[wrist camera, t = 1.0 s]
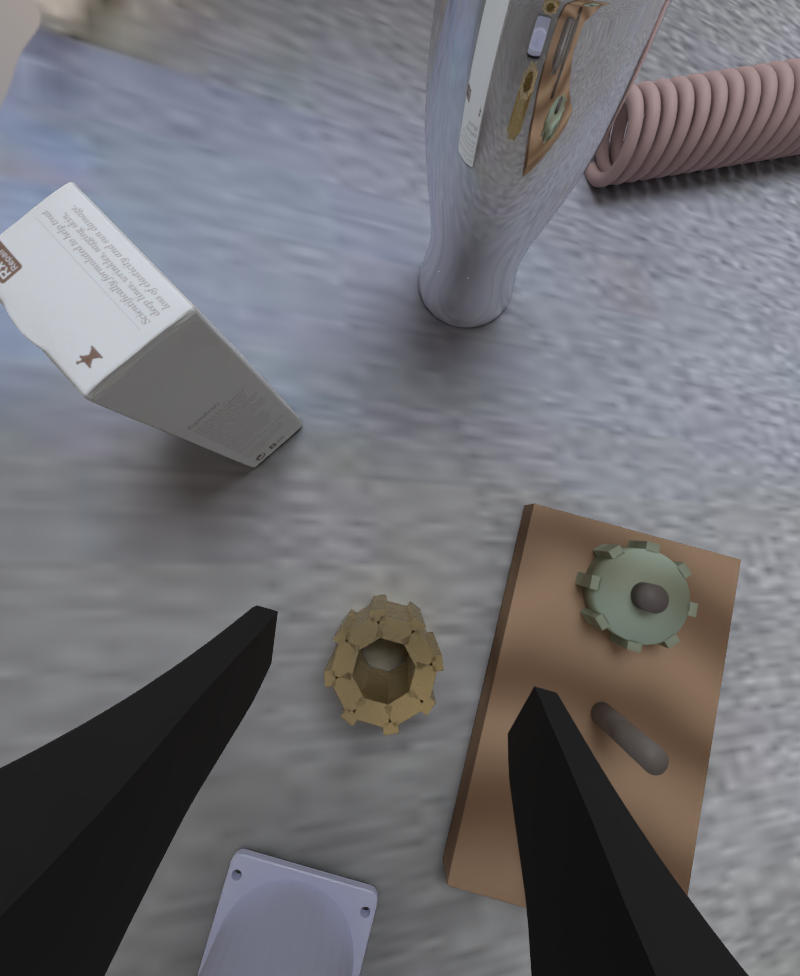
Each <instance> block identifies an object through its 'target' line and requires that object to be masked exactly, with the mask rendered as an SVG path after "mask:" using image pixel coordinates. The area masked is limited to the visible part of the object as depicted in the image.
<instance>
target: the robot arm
mask: <svg viewBox="0 0 800 976" xmlns="http://www.w3.org/2000/svg"><path fill="white" fill-rule="evenodd" d="M277 614H278V611H274V610H271V609H267V608H264V607H260V606H255V607H252V608H251V609H250V610H249V611H248V612H246V613H245V614H244V615H243V616H241V617H240V618H239V619H238V620H236V621H235V622H234V623H233V624H231V625H230V626H229V627H228V628H226V629H225V630H224V631H222V632H221V633H220V634H218V635H217V636H216V637H215V638H213V639H212V640H211V641H209V642H208V643H207V644H205V645H204V646H202V647H201V648H200V649H198V650H197V651H196V652H194V653H193V654H191V655H190V656H189V657H187V658H186V659H185V660H183V661H182V662H180V663H179V664H178V665H176V666H175V667H173V668H172V669H170V670H169V671H167V672H166V673H164V674H163V675H161V676H160V677H158V678H157V679H155V680H154V681H152V682H151V683H149V684H148V685H146V686H145V687H143V688H142V689H140V690H139V691H137V692H135V693H134V694H132V695H131V696H129V697H128V698H126V699H124V700H123V701H121V702H119V703H118V704H116V705H115V706H113V707H111V708H110V709H108V710H106V711H105V712H103V713H101V714H99V715H98V716H96V717H94V718H93V719H91V720H89V721H87V722H86V723H84V724H82V725H80V726H79V727H77V728H75V729H73V730H71V731H70V732H68V733H66V734H64V735H62V736H60V737H59V738H57V739H55V740H53V741H51V742H49V743H48V744H46V745H44V746H42V747H40V748H38V749H37V750H35V751H33V752H31V753H29V754H27V755H25V756H23V757H21V758H19V759H17V760H15V761H13V762H11V763H10V764H8V765H6V766H3V767H1V768H0V976H105V973H106V971H107V969H108V967H109V965H110V963H111V961H112V959H113V957H114V955H115V953H116V951H117V949H118V947H119V945H120V943H121V941H122V939H123V936H124V934H125V932H126V930H127V928H128V926H129V924H130V922H131V920H132V918H133V916H134V914H135V912H136V910H137V908H138V906H139V904H140V902H141V900H142V898H143V896H144V894H145V892H146V890H147V888H148V886H149V884H150V882H151V880H152V878H153V876H154V874H155V872H156V870H157V868H158V866H159V864H160V862H161V861H162V859H163V857H164V855H165V853H166V851H167V849H168V847H169V845H170V843H171V841H172V839H173V837H174V835H175V833H176V831H177V829H178V828H179V826H180V824H181V822H182V820H183V818H184V816H185V814H186V812H187V811H188V809H189V807H190V805H191V804H192V802H193V800H194V798H195V796H196V795H197V793H198V791H199V790H200V788H201V786H202V785H203V783H204V781H205V780H206V778H207V777H208V775H209V773H210V772H211V770H212V768H213V767H214V765H215V763H216V762H217V760H218V758H219V757H220V755H221V754H222V752H223V750H224V749H225V747H226V745H227V744H228V742H229V740H230V739H231V737H232V736H233V734H234V732H235V731H236V729H237V727H238V726H239V724H240V722H241V721H242V719H243V717H244V716H245V714H246V712H247V711H248V709H249V707H250V706H251V704H252V702H253V700H254V698H255V696H256V694H257V692H258V690H259V688H260V686H261V684H262V682H263V680H264V678H265V676H266V674H267V671H268V669H269V667H270V665H271V661H272V653H273V645H274V637H275V629H276V621H277ZM508 766H509V782H510V790H511V797H512V805H513V812H514V820H515V827H516V834H517V841H518V848H519V855H520V862H521V870H522V877H523V884H524V891H525V899H526V908H527V917H528V928H529V943H530V958H531V973H532V976H748V975H747V973H746V972H745V971H744V970H743V968H742V967H741V966H740V965H739V963H738V962H737V961H736V960H735V958H734V957H733V956H732V954H731V953H730V952H729V951H728V949H727V948H726V947H725V945H724V944H723V943H722V942H721V940H720V939H719V938H718V936H717V935H716V934H715V932H714V931H713V930H712V929H711V927H710V926H709V925H708V923H707V922H706V921H705V919H704V918H703V916H702V915H701V914H700V912H699V911H698V910H697V908H696V907H695V906H694V904H693V903H692V902H691V900H690V899H689V897H688V896H687V895H686V893H685V892H684V891H683V889H682V888H681V887H680V885H679V884H678V882H677V881H676V880H675V878H674V877H673V876H672V874H671V873H670V871H669V870H668V868H667V867H666V866H665V864H664V863H663V861H662V860H661V859H660V857H659V856H658V854H657V853H656V851H655V850H654V848H653V847H652V845H651V844H650V842H649V841H648V839H647V838H646V836H645V835H644V833H643V832H642V830H641V829H640V827H639V826H638V824H637V823H636V821H635V820H634V818H633V817H632V815H631V814H630V812H629V811H628V809H627V808H626V806H625V805H624V803H623V801H622V800H621V798H620V797H619V795H618V794H617V792H616V790H615V789H614V787H613V786H612V784H611V782H610V781H609V779H608V778H607V776H606V774H605V773H604V771H603V769H602V768H601V766H600V764H599V763H598V761H597V760H596V758H595V756H594V755H593V753H592V751H591V750H590V748H589V746H588V744H587V743H586V741H585V739H584V738H583V736H582V734H581V733H580V731H579V729H578V728H577V726H576V724H575V722H574V721H573V719H572V717H571V716H570V714H569V712H568V711H567V709H566V707H565V705H564V704H563V702H562V700H561V699H560V697H559V695H558V694H557V693H556V692H553V691H549V690H546V689H543V688H539V687H536V686H534V688H533V689H532V691H531V693H530V695H529V697H528V698H527V700H526V702H525V704H524V705H523V707H522V709H521V711H520V713H519V714H518V716H517V718H516V720H515V721H514V723H513V725H512V727H511V729H510V730H509V732H508ZM235 870H240V871H241V874H238V873H236V871H235ZM377 899H378V893H377V890H376V888H375V887H374V886H372V885H369V884H366V883H362V882H359V881H355V880H352V879H348V878H345V877H341V876H338V875H334V874H331V873H327V872H324V871H320V870H317V869H313V868H310V867H306V866H303V865H299V864H296V863H292V862H289V861H285V860H282V859H278V858H275V857H271V856H268V855H264V854H261V853H258V852H254V851H251V850H247V849H239V850H237V851H236V852H235V854H234V856H233V858H232V860H231V862H230V866H229V869H228V873H227V876H226V879H225V883H224V886H223V890H222V893H221V897H220V900H219V903H218V907H217V910H216V914H215V917H214V920H213V924H212V927H211V931H210V934H209V938H208V941H207V944H206V948H205V951H204V955H203V958H202V961H201V965H200V968H199V972H198V975H197V976H359V975H360V971H361V967H362V963H363V959H364V955H365V951H366V947H367V943H368V939H369V935H370V931H371V927H372V922H373V918H374V914H375V910H376V906H377ZM363 907H368V908H369V909H368V910H364V909H362V908H363Z"/></svg>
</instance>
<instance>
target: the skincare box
mask: <svg viewBox="0 0 800 976" xmlns="http://www.w3.org/2000/svg"><path fill="white" fill-rule="evenodd" d="M0 302H1V303H2V304H3V305H4V307H5V308H6V311H7V312H8V314H9V316H10V318H11V319H12V321H13V322H14V324H15V325H16V326H17V328H18V329H19V330H20V331H21V332H22V334H23V335H24V336H25V337H26V338H27V339H28V340H30V341H31V342H32V343H33V344H35V345H36V346H37V347H39V348H41V349H42V350H43V352H44V353H45V354H46V355H47V356H48V357H49V358H50V359H51V361H52V362H53V363H54V364H55V365H56V366H57V367H58V368H59V370H60V371H61V372H62V373H63V374H64V375H65V376H66V377H67V378H68V380H69V381H70V382H71V383H72V384H73V385H74V386H75V387H76V388H77V390H78V391H79V392H80V393H81V394H82V395H83V396H84V397H85V398H86V399H87V400H89V401H92V402H94V403H96V404H98V405H101V406H103V407H105V408H108V409H110V410H113V411H115V412H117V413H120V414H122V415H125V416H127V417H130V418H132V419H135V420H137V421H139V422H142V423H144V424H147V425H149V426H152V427H154V428H157V429H160V430H162V431H164V432H167V433H169V434H172V435H174V436H177V437H179V438H182V439H184V440H187V441H189V442H191V443H194V444H196V445H199V446H201V447H203V448H206V449H208V450H210V451H213V452H215V453H218V454H220V455H223V456H225V457H227V458H230V459H232V460H235V461H237V462H240V463H242V464H245V465H247V466H249V467H253V468H254V467H256V466H257V465H259V464H260V463H261V462H262V461H263V460H264V459H265V458H266V457H268V456H269V455H270V454H271V453H272V452H274V451H275V450H276V449H277V448H278V447H279V446H280V445H281V444H283V443H284V442H285V441H286V440H287V439H288V438H290V437H291V436H292V435H293V434H294V433H295V432H296V431H297V430H298V429H300V428H301V426H302V421H301V420H300V418H299V417H298V416H297V415H296V414H295V412H294V411H293V410H292V409H291V408H290V406H289V405H288V404H287V403H286V402H285V401H284V399H283V398H282V397H281V396H280V395H279V394H278V393H277V392H276V391H275V389H274V388H273V387H272V386H271V385H270V384H269V383H268V382H267V381H266V380H265V379H264V378H263V376H262V375H261V374H260V373H259V372H258V371H257V370H256V369H255V368H254V367H253V366H252V365H251V364H250V363H249V362H248V361H247V360H246V358H245V357H244V356H243V355H242V354H241V353H240V352H239V351H238V350H237V349H236V348H235V347H234V346H233V345H232V344H231V343H230V342H229V341H228V340H227V339H226V338H225V337H224V335H223V334H222V333H221V332H220V331H219V330H218V329H217V328H216V327H215V326H214V325H213V324H212V323H211V322H210V321H209V320H208V319H207V318H206V317H205V316H204V315H203V314H202V313H201V312H200V311H199V310H198V309H197V308H196V307H195V306H194V305H193V304H192V303H191V302H190V301H189V300H188V299H187V298H186V297H185V296H184V295H183V294H182V293H181V292H180V290H179V289H178V288H177V287H176V286H175V285H174V284H173V283H172V282H171V281H170V280H169V279H168V278H167V277H166V276H165V275H164V274H163V273H162V272H161V271H160V270H159V269H158V268H157V267H156V266H155V265H154V264H153V263H152V262H151V261H150V260H149V259H148V258H147V257H146V256H145V255H144V254H143V253H142V252H141V251H140V250H139V249H138V248H137V247H136V246H135V245H134V244H133V243H132V242H131V240H130V239H129V238H128V237H127V236H126V235H125V234H124V233H123V232H122V231H121V230H120V229H119V228H118V227H117V226H116V225H115V224H114V223H113V222H112V221H111V220H110V219H109V218H108V217H107V216H106V215H105V214H104V213H103V212H102V211H101V210H100V209H99V208H98V207H97V206H96V205H95V204H94V203H93V202H92V201H91V200H90V199H89V198H88V197H87V196H86V195H85V194H84V193H83V192H82V191H81V190H80V189H79V188H78V186H77V185H76V184H74V183H73V182H69V183H67V184H66V185H64V186H63V187H61V188H59V189H58V190H57V191H55V192H54V193H52V194H51V195H50V196H48V197H47V198H46V199H44V200H43V201H42V202H41V203H39V204H38V205H37V206H35V207H34V208H33V209H32V210H31V211H29V212H28V213H27V214H26V215H25V216H23V217H22V218H21V219H20V220H18V221H17V222H16V223H15V224H13V225H12V226H11V227H9V228H8V229H7V230H6V231H4V232H3V233H2V234H1V235H0Z"/></svg>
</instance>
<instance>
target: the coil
mask: <svg viewBox="0 0 800 976" xmlns="http://www.w3.org/2000/svg"><path fill="white" fill-rule="evenodd" d="M644 113H645V115H644ZM643 116H644V119H643ZM627 121H628V124H627ZM626 125H627V129H626V134H625V139H624V133H625V128H626ZM611 128H612V126H611ZM611 128H610V130H609V132H608V133H607V135H606V137H605V139H604V140H603V142H602V144H601V146H600V147H599V149H598V151H597V153H596V163H595V162H592V163H590V165H589V166H588V168H587V169H586V171H585V172H584V173H585V176H586V178H587V180H588V182H589V183H590V184H591V185H592V186H594V187H605V186H607V185H609V184H610V185H619V184H621V183H623V182H626V183H632V182H635V181H637V180H648V179H651V178H662V177H665V176H667V175H670V176H674V175H678V174H681V173H691V172H694V171H705V170H708V169H710V168H712V169H716V168H721V167H724V166H734V165H737V164H747V163H750V162H759V161H764V160H767V159H777V158H780V157H789V156H793V155H800V58H799V59H798V58H794V59H787V60H785V61H774V62H770V63H767V64H765V63H762V64H755V65H753V66H741V67H738V68H735V69H733V68H730V69H723V70H720V71H719V72H718V71H708V72H706V73H703V74H700V73H698V74H691V75H688V76H687V77H684V76H676V77H673V78H671V79H670V80H669V79H658V80H656V81H654V82H651V81H643V82H641V83H639V84H638V85H635V84H633V85H632V87H631V89H630V91H629V93H628V95H627V97H626V99H625V101H624V103H623V105H622V107H621V109H620V111H619V113H618V115H617V117H616V119H615V122H614V125H613V129H612V134H611V141H610V158H609V138H610V132H611ZM623 139H624V142H623ZM638 139H639V141H638ZM637 142H638V146H637ZM596 165H597V166H596Z"/></svg>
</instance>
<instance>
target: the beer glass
mask: <svg viewBox="0 0 800 976" xmlns="http://www.w3.org/2000/svg"><path fill="white" fill-rule="evenodd" d="M671 2H672V0H435V5H434V12H433V20H432V29H431V39H430V49H429V59H428V69H427V85H426V106H425V144H426V167H427V180H428V193H429V204H430V217H431V237H430V242H429V246H428V249H427V252H426V254H425V257H424V260H423V263H422V266H421V269H420V274H419V290H420V294H421V297H422V300H423V302H424V304H425V305H426V307H427V308H428V310H429V311H430V312H431V313H432V314H433V315H434V316H435V317H437V318H438V319H439V320H441V321H443V322H445V323H447V324H449V325H452V326H456V327H463V328H470V327H477V326H481V325H484V324H487V323H489V322H491V321H492V320H494V319H495V318H496V317H498V316H499V315H500V314H501V313H502V312H503V310H504V309H505V308H506V306H507V304H508V303H509V300H510V298H511V295H512V292H513V288H514V284H515V279H516V274H517V271H518V267H519V265H520V263H521V261H522V259H523V257H524V255H525V254H526V252H527V251H528V249H529V248H530V247H531V245H532V244H533V242H534V241H535V240H536V238H537V237H538V236H539V234H540V233H541V232H542V231H543V229H544V228H545V227H546V225H547V224H548V223H549V221H550V220H551V219H552V217H553V216H554V215H555V213H556V212H557V211H558V209H559V208H560V207H561V205H562V204H563V203H564V201H565V200H566V199H567V197H568V196H569V194H570V193H571V191H572V190H573V189H574V187H575V186H576V184H577V183H578V181H579V180H580V178H581V177H582V175H583V174H584V172H585V171H586V169H587V168H588V166H589V165H590V163H591V161H592V160H593V158H594V156H595V154H596V153H597V151H598V149H599V147H600V146H601V144H602V142H603V140H604V139H605V137H606V135H607V133H608V132H609V130H610V128H611V126H612V125H613V123H614V121H615V119H616V117H617V115H618V113H619V111H620V109H621V107H622V105H623V103H624V101H625V99H626V97H627V95H628V93H629V91H630V89H631V87H632V85H633V83H634V81H635V79H636V77H637V75H638V73H639V71H640V69H641V67H642V65H643V62H644V60H645V58H646V56H647V54H648V52H649V50H650V48H651V45H652V43H653V41H654V39H655V37H656V35H657V33H658V31H659V28H660V26H661V24H662V22H663V20H664V17H665V15H666V13H667V11H668V9H669V6H670V4H671Z"/></svg>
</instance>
